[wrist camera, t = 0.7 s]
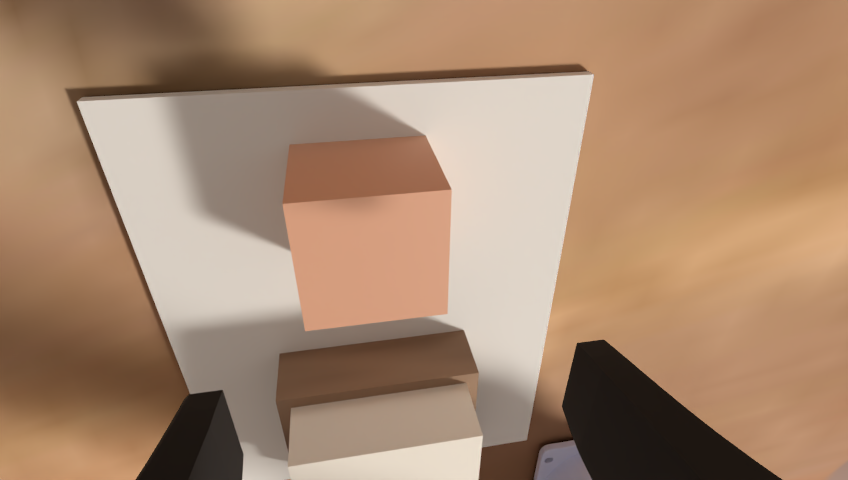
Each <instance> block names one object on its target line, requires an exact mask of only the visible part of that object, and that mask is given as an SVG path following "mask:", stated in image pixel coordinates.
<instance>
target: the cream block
mask: <svg viewBox="0 0 848 480" xmlns="http://www.w3.org/2000/svg"><path fill="white" fill-rule="evenodd" d="M482 441H483V434H482V431H481V428H480V425H479V421H478V418H477V415H476V412H475V409H474V406H473V402H472V399H471V396H470V393H469V390H468V387H467V383H462V384H455V385H448V386H441V387H434V388H427V389H420V390H413V391H406V392H399V393H392V394H385V395H378V396H371V397H364V398H357V399H350V400H343V401H336V402H329V403H322V404H315V405H308V406H301V407H294V408H291V415H290V434H289V453H288V470H289V474H290V478H291V480H478V479H479V470H480V460H481V450H482Z"/></svg>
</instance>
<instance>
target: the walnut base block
mask: <svg viewBox="0 0 848 480" xmlns="http://www.w3.org/2000/svg"><path fill="white" fill-rule="evenodd" d="M478 377H479V372H478V369H477V366H476V363H475V360H474V357H473V354H472V352H471V349H470V346H469V343H468V340H467V337H466V334H465V332H464V330H461V331H453V332H445V333H437V334H429V335H421V336H413V337H406V338H398V339H390V340H382V341H374V342H366V343H358V344H350V345H343V346H335V347H327V348H319V349H311V350H303V351H295V352H288V353H280V354H279V366H278V378H277V389H276V405H277V409H278V413H279V417H280V421H281V425H282V429H283V433H284V437H285V441H286V445H287V449H288V453H289V434H290V415H291V408H294V407H301V406H308V405H315V404H322V403H329V402H336V401H343V400H350V399H357V398H364V397H371V396H378V395H385V394H392V393H399V392H406V391H413V390H420V389H427V388H434V387H441V386H448V385H455V384H462V383H467V387H468V390H469V393H470V396H471V399H472V402H473V406H474V409H475V412H476V400H477V389H478Z"/></svg>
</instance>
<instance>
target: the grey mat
mask: <svg viewBox="0 0 848 480" xmlns="http://www.w3.org/2000/svg"><path fill="white" fill-rule="evenodd" d="M593 77H594V74H592V73H591V72H589V71H586V72H566V73H546V74H527V75H507V76H488V77H468V78H448V79H429V80H409V81H389V82H370V83H350V84H331V85H311V86H291V87H272V88H252V89H233V90H213V91H193V92H174V93H154V94H135V95H115V96H95V97H82V98H80V99H79V100H78V101H77V104H78V106H79V109H80V111H81V114H82V117H83V119H84V122H85V124H86V127H87V129H88V132H89V135H90V137H91V140H92V142H93V145H94V148H95V150H96V153H97V155H98V158H99V160H100V163H101V166H102V168H103V171H104V173H105V176H106V178H107V181H108V184H109V186H110V189H111V191H112V194H113V196H114V199H115V202H116V204H117V207H118V209H119V212H120V214H121V217H122V220H123V222H124V225H125V227H126V230H127V233H128V235H129V238H130V240H131V243H132V245H133V248H134V251H135V253H136V256H137V258H138V261H139V263H140V266H141V269H142V271H143V274H144V276H145V279H146V281H147V284H148V287H149V289H150V292H151V294H152V297H153V300H154V302H155V305H156V307H157V310H158V312H159V315H160V318H161V320H162V323H163V325H164V328H165V330H166V333H167V336H168V338H169V341H170V343H171V346H172V348H173V351H174V354H175V356H176V359H177V361H178V364H179V366H180V369H181V372H182V374H183V377H184V379H185V382H186V385H187V387H188V390H189V392H190V394H195V393H203V392H210V391H218V390H223V392H224V395H225V398H226V401H227V405H228V408H229V411H230V414H231V417H232V420H233V423H234V426H235V429H236V432H237V436H238V439H239V442H240V445H241V448H242V451H243V454H244V457H243V474H242V480H286V479H291V478H290V474H289V470H288V449H287V445H286V441H285V437H284V433H283V429H282V425H281V421H280V417H279V413H278V409H277V405H276V389H277V378H278V366H279V354H280V353H288V352H295V351H303V350H311V349H319V348H327V347H335V346H343V345H350V344H358V343H366V342H374V341H382V340H390V339H398V338H406V337H413V336H421V335H429V334H437V333H445V332H453V331H461V330H464V332H465V334H466V337H467V340H468V343H469V346H470V349H471V352H472V354H473V357H474V360H475V363H476V366H477V369H478V372H479V377H478V389H477V400H476V415H477V418H478V421H479V425H480V428H481V431H482V434H483V441H482V447H488V446H494V445H500V444H506V443H513V442H519V441H525V440H527V437H528V431H529V426H530V420H531V415H532V409H533V404H534V398H535V393H536V388H537V382H538V377H539V371H540V366H541V360H542V355H543V349H544V344H545V339H546V333H547V328H548V322H549V317H550V311H551V306H552V300H553V295H554V290H555V284H556V279H557V273H558V268H559V262H560V257H561V252H562V246H563V241H564V235H565V230H566V224H567V219H568V213H569V208H570V203H571V197H572V192H573V186H574V181H575V175H576V170H577V164H578V159H579V154H580V148H581V143H582V137H583V132H584V126H585V121H586V115H587V110H588V105H589V99H590V94H591V88H592V83H593ZM424 135H426V137H427V139H428V141H429V144H430V146H431V148H432V150H433V152H434V154H435V156H436V158H437V160H438V162H439V164H440V166H441V168H442V170H443V173H444V175H445V177H446V179H447V181H448V183H449V185H450V187H451V189H452V197H451V227H450V257H449V286H448V314H443V315H435V316H427V317H419V318H411V319H402V320H394V321H386V322H378V323H370V324H361V325H353V326H345V327H337V328H328V329H320V330H312V331H305V328H304V322H303V316H302V311H301V305H300V300H299V294H298V289H297V283H296V277H295V272H294V266H293V261H292V255H291V249H290V244H289V238H288V233H287V227H286V222H285V216H284V210H283V205H282V203H283V194H284V186H285V177H286V169H287V160H288V152H289V145H291V144H305V143H320V142H335V141H350V140H364V139H379V138H394V137H409V136H424Z"/></svg>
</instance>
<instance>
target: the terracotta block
mask: <svg viewBox="0 0 848 480" xmlns="http://www.w3.org/2000/svg"><path fill="white" fill-rule="evenodd" d="M451 197H452V189H451V187H450V185H449V183H448V181H447V179H446V177H445V175H444V173H443V170H442V168H441V166H440V164H439V162H438V160H437V158H436V156H435V154H434V152H433V150H432V148H431V146H430V144H429V141H428V139H427V137H426V135H424V136H409V137H394V138H379V139H364V140H350V141H335V142H320V143H305V144H291V145H289V152H288V160H287V169H286V177H285V186H284V194H283V203H282V205H283V210H284V216H285V222H286V227H287V233H288V238H289V244H290V249H291V255H292V261H293V266H294V272H295V277H296V283H297V289H298V294H299V300H300V305H301V311H302V316H303V322H304V328H305V331H312V330H320V329H328V328H337V327H345V326H353V325H361V324H370V323H378V322H386V321H394V320H402V319H411V318H419V317H427V316H435V315H443V314H448V286H449V257H450V227H451Z"/></svg>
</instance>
